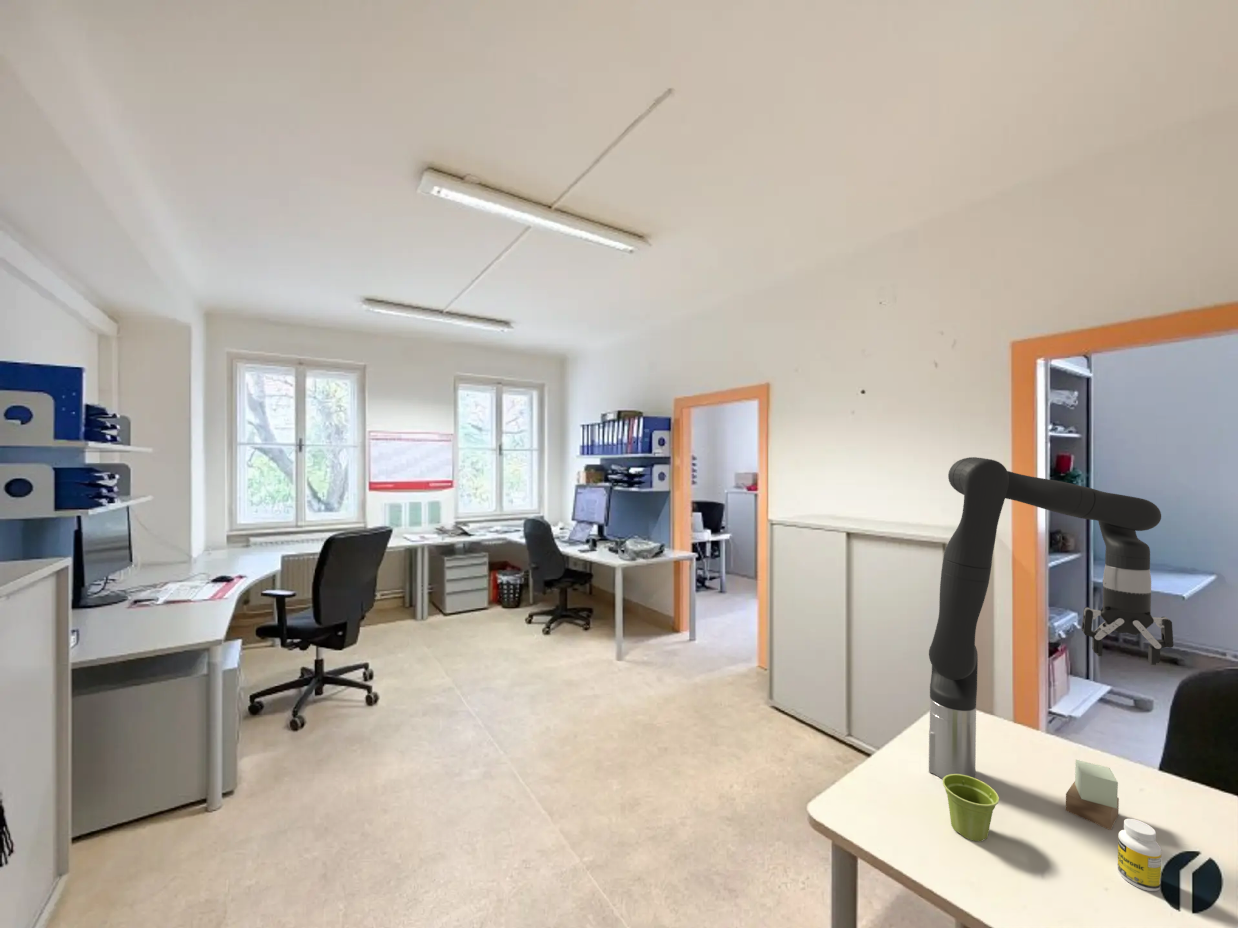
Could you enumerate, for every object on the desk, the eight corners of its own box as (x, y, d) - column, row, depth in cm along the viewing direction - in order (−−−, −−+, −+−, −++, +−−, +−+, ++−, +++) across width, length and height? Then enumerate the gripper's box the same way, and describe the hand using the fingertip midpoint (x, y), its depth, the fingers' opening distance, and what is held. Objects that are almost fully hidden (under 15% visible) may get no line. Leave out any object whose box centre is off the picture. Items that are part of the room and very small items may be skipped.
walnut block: (1065, 811, 109) (1065, 793, 108) (1074, 798, 113) (1075, 780, 113) (1110, 831, 103) (1110, 812, 103) (1118, 816, 107) (1118, 797, 107)
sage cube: (1081, 798, 107) (1082, 773, 107) (1074, 783, 111) (1075, 759, 111) (1117, 808, 104) (1117, 782, 104) (1108, 792, 109) (1109, 767, 108)
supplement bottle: (1108, 868, 94) (1110, 816, 93) (1135, 866, 94) (1137, 814, 94) (1141, 893, 88) (1142, 838, 88) (1169, 891, 89) (1171, 836, 88)
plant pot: (988, 819, 106) (988, 778, 106) (1006, 853, 97) (1006, 809, 97) (936, 809, 109) (937, 769, 109) (949, 841, 100) (949, 798, 100)
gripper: (1087, 586, 113) (1085, 658, 114) (1179, 596, 106) (1177, 673, 106) (1080, 579, 120) (1078, 647, 120) (1166, 587, 112) (1164, 660, 112)
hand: (1125, 659), depth 113 cm, fingers open, 8 cm apart
